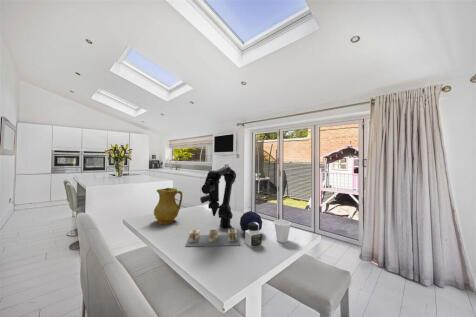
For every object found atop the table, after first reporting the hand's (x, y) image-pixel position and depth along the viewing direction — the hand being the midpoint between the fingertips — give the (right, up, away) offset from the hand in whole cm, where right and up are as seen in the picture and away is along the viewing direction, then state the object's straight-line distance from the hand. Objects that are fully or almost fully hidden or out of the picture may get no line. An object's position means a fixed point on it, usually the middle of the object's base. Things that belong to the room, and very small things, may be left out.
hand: (214, 215), depth 119 cm
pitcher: (-38, -12, +24) cm, 46 cm away
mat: (+1, -13, -7) cm, 14 cm away
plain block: (+1, -12, -7) cm, 14 cm away
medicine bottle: (+24, -13, -10) cm, 29 cm away
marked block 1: (-10, -12, -8) cm, 18 cm away
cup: (+41, -14, -5) cm, 44 cm away
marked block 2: (+12, -12, -6) cm, 18 cm away
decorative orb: (+23, -13, +5) cm, 27 cm away
